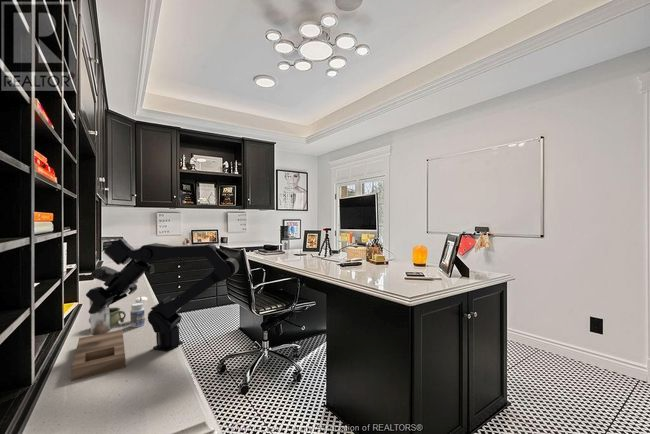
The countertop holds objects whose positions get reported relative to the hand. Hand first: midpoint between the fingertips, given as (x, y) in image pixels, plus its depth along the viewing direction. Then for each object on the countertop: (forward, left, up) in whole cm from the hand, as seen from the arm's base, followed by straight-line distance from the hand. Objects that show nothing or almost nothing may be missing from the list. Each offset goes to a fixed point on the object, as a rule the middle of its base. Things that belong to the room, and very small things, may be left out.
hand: (95, 310), depth 100 cm
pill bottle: (+8, -21, -13) cm, 26 cm away
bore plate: (-6, +3, -13) cm, 14 cm away
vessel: (+19, -17, -13) cm, 29 cm away
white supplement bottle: (+13, -27, -13) cm, 33 cm away
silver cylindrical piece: (-1, -1, -7) cm, 7 cm away
